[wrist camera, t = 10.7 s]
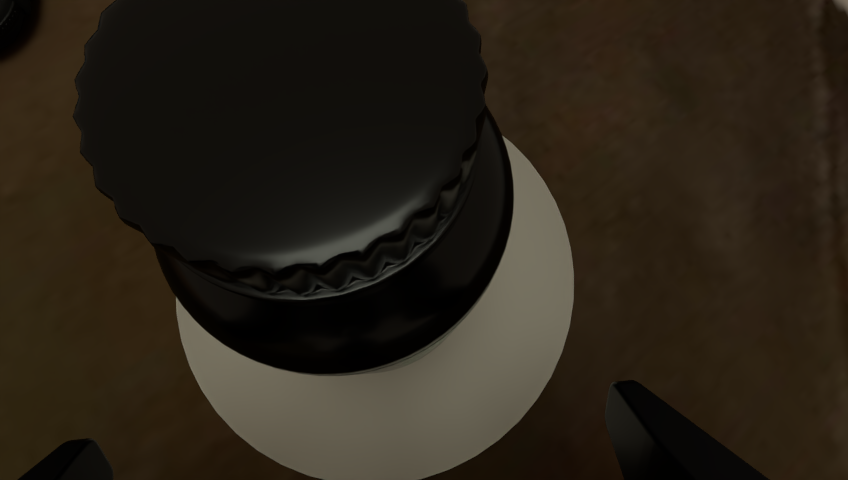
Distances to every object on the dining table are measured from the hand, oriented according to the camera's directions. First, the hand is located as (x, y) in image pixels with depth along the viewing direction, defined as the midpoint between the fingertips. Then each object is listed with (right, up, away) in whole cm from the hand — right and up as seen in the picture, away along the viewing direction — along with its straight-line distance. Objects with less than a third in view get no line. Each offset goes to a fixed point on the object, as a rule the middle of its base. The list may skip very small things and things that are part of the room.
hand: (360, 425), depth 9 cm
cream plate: (-1, +2, +10) cm, 10 cm away
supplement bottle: (-1, +2, +9) cm, 9 cm away
